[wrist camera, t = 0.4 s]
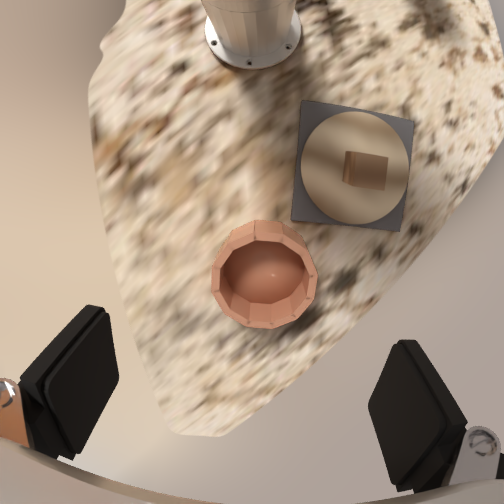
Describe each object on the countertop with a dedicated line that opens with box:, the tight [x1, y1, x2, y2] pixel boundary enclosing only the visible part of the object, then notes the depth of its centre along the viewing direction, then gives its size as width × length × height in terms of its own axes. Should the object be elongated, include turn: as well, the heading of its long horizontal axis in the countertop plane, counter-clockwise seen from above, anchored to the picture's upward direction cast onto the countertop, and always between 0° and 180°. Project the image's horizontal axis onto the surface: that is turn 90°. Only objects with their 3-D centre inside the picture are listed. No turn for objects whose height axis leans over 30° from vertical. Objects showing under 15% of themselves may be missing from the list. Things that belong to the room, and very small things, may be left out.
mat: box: [291, 100, 414, 232], centre depth 39 cm, size 16×16×1 cm
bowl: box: [211, 220, 318, 329], centre depth 41 cm, size 13×13×6 cm
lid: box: [301, 112, 409, 224], centre depth 36 cm, size 15×15×6 cm
